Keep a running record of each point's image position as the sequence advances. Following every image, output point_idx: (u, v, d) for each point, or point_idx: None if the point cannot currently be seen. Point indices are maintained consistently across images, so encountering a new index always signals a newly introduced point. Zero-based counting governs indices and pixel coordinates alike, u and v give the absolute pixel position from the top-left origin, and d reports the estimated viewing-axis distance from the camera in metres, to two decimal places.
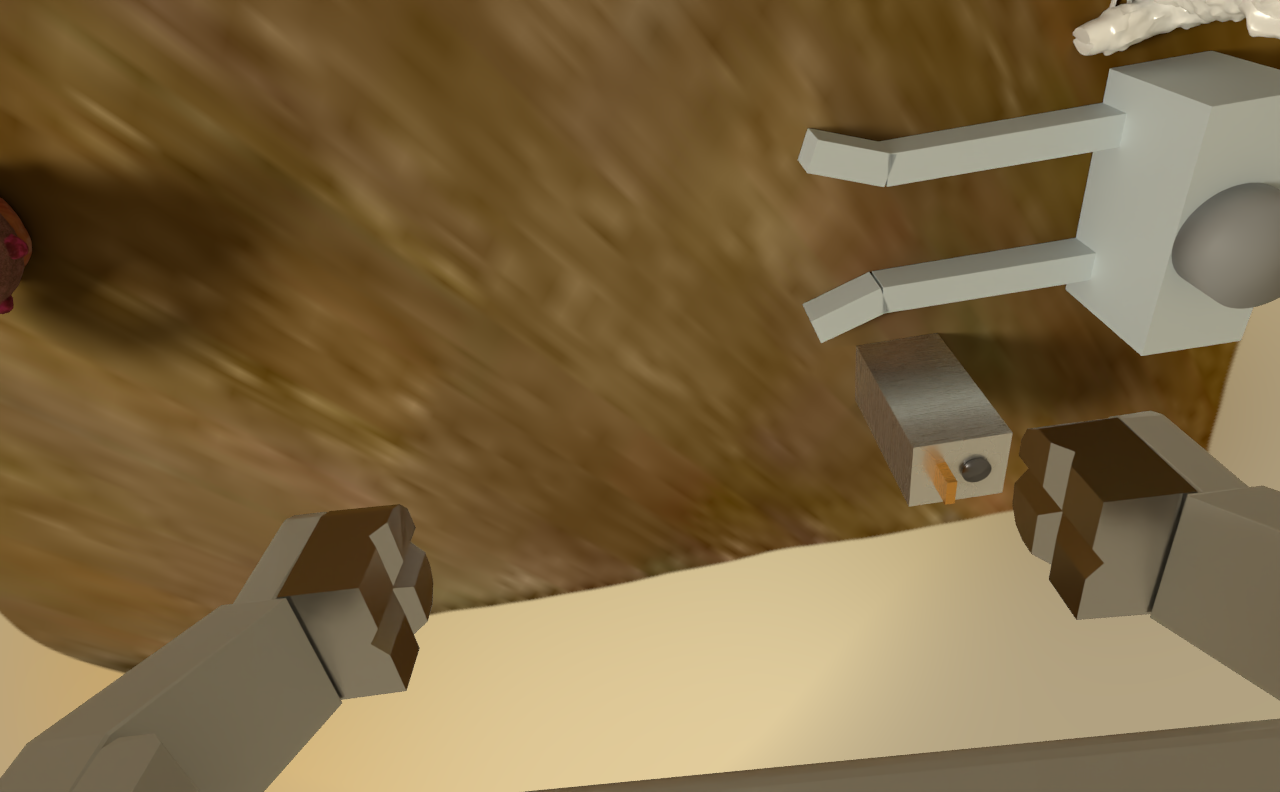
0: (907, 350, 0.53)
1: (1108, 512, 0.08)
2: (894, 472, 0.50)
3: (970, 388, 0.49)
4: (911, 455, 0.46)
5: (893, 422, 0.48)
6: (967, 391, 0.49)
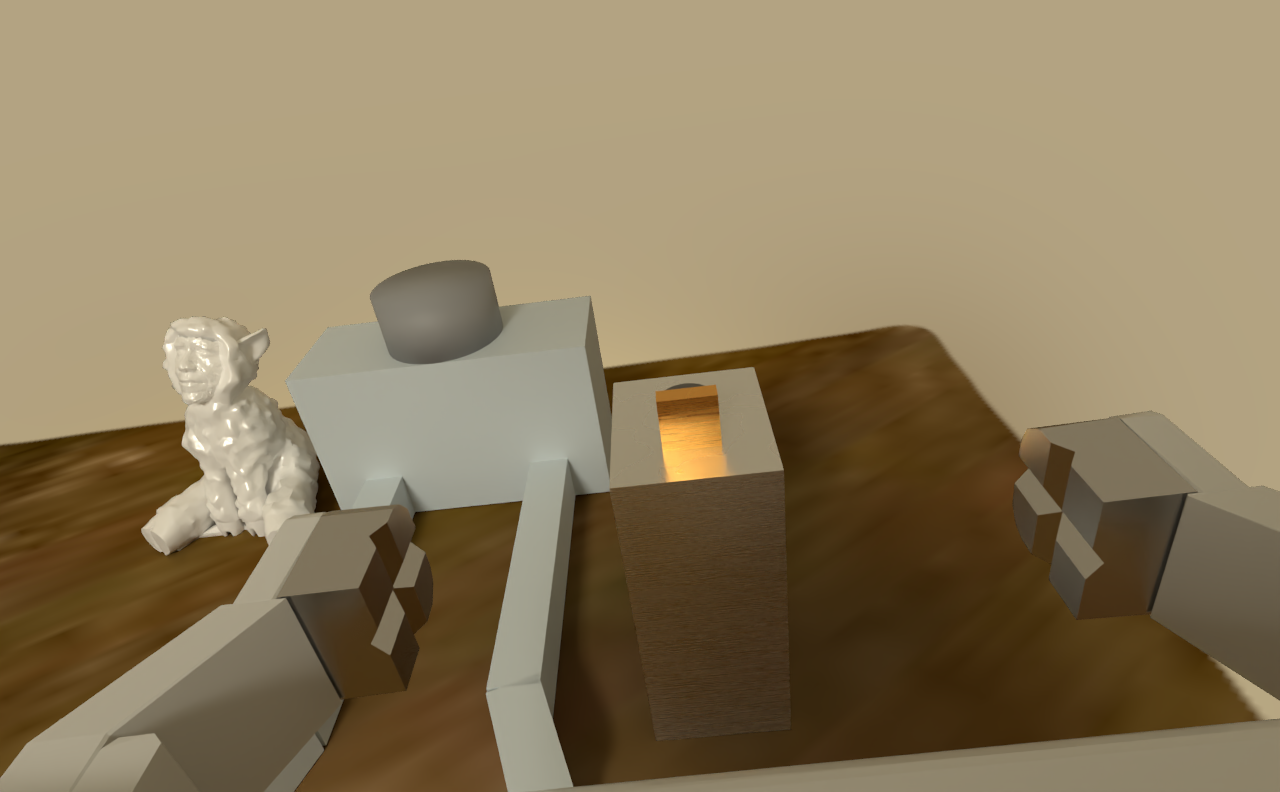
0: None
1: (1108, 512, 0.08)
2: (771, 546, 0.22)
3: None
4: (638, 491, 0.21)
5: (650, 574, 0.23)
6: None
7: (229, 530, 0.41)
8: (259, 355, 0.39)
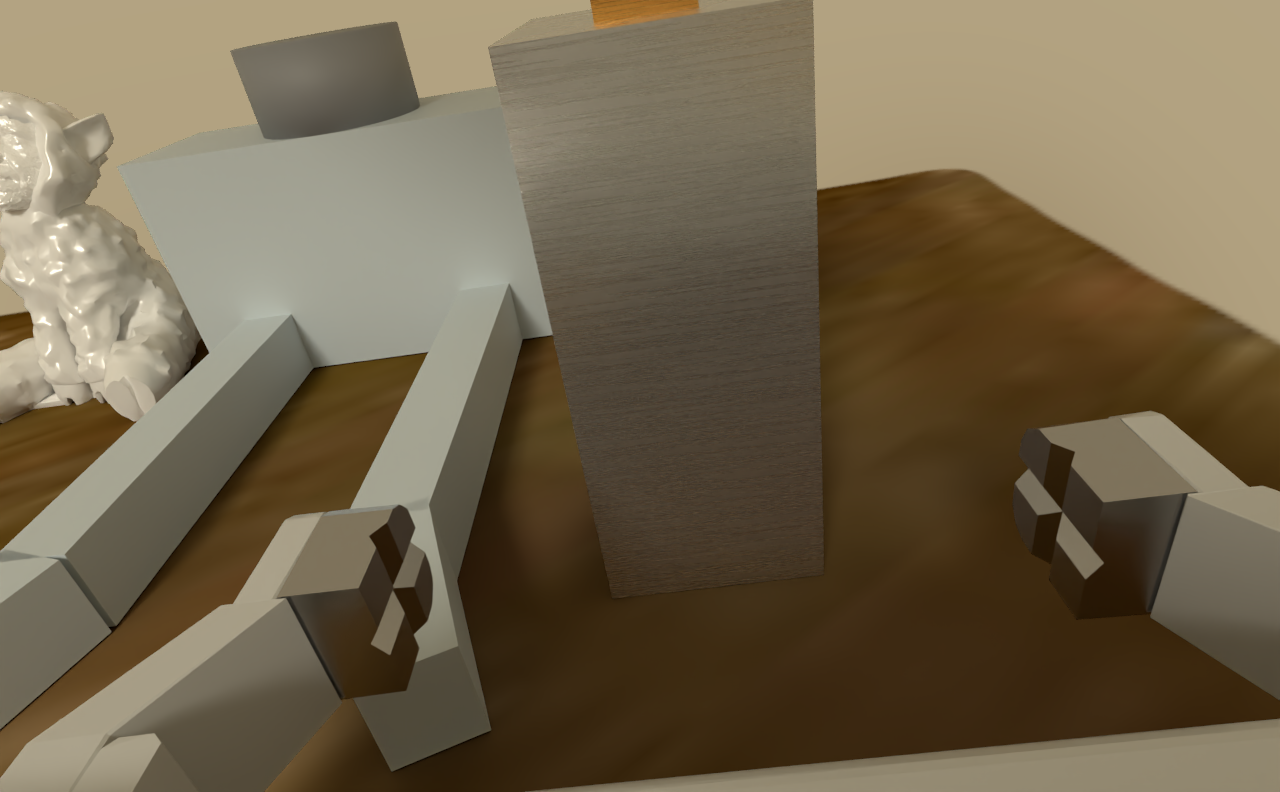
0: None
1: (1108, 512, 0.08)
2: (791, 188, 0.13)
3: None
4: (542, 54, 0.11)
5: (579, 256, 0.13)
6: None
7: (70, 396, 0.31)
8: (97, 153, 0.29)
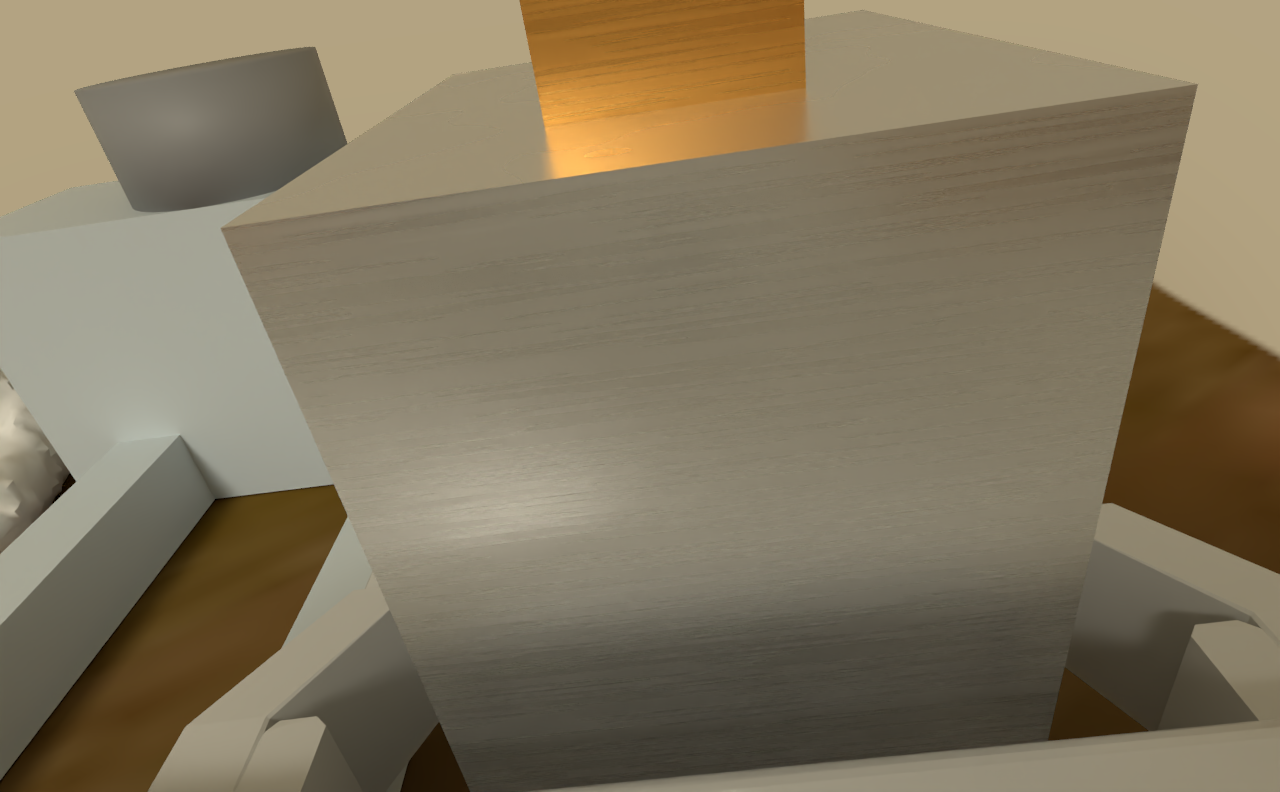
0: None
1: None
2: (1031, 536, 0.05)
3: None
4: (379, 247, 0.04)
5: (515, 660, 0.06)
6: None
7: None
8: None
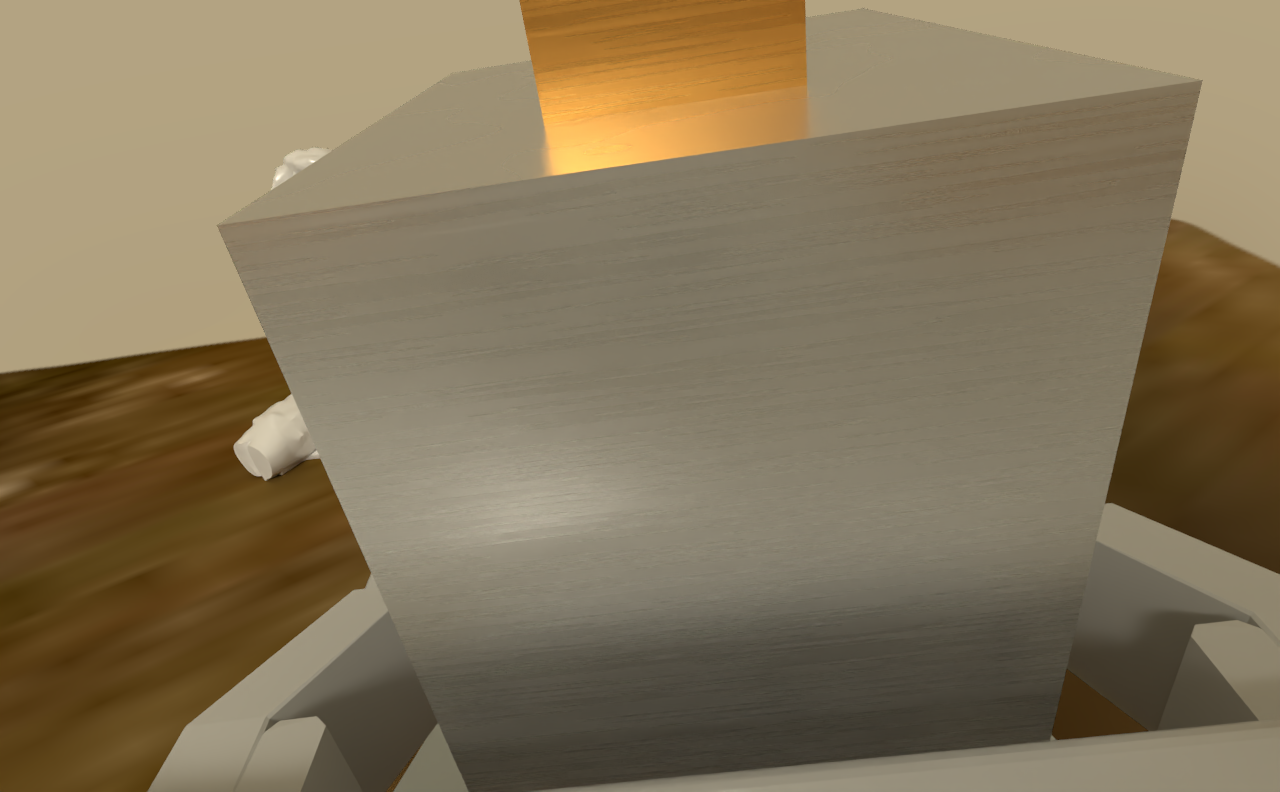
0: None
1: None
2: (1033, 536, 0.05)
3: None
4: (377, 244, 0.04)
5: (514, 660, 0.06)
6: None
7: None
8: None
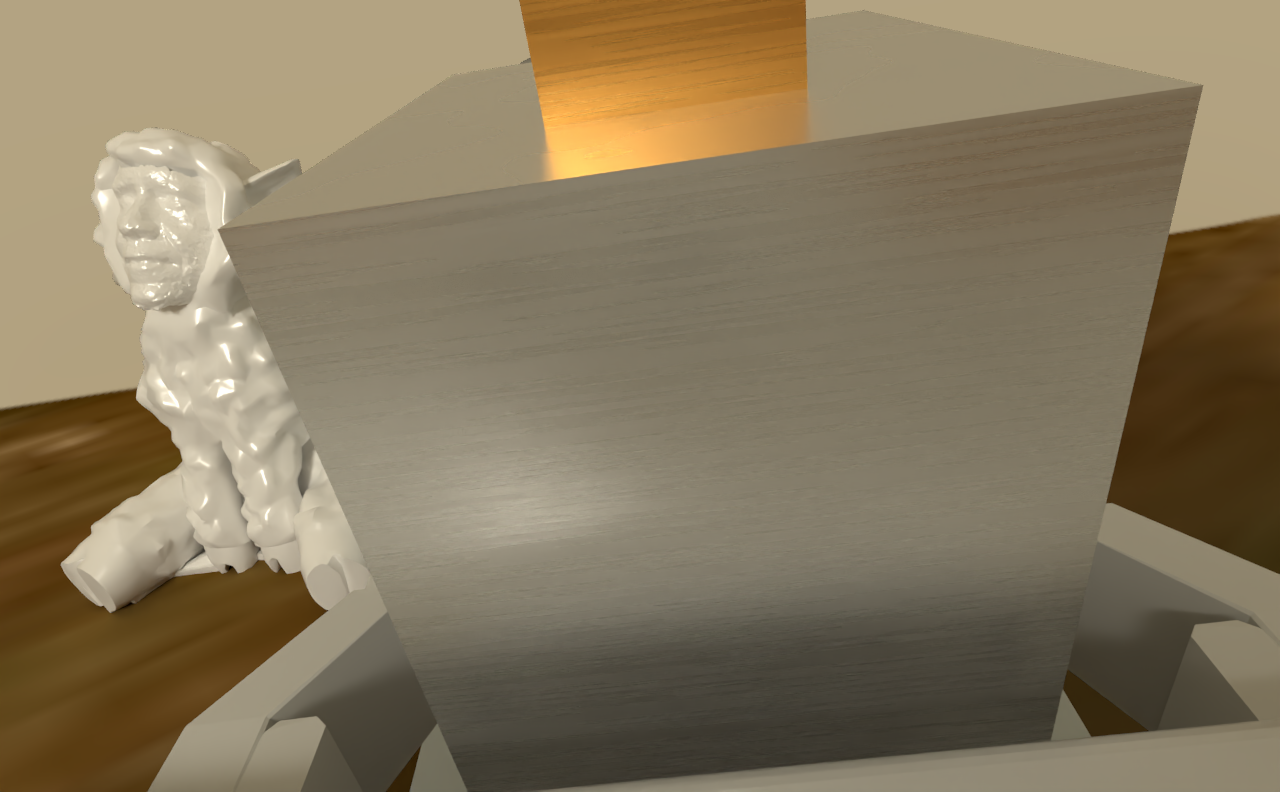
0: None
1: None
2: (1033, 539, 0.05)
3: None
4: (379, 247, 0.04)
5: (514, 663, 0.06)
6: None
7: (231, 562, 0.22)
8: None
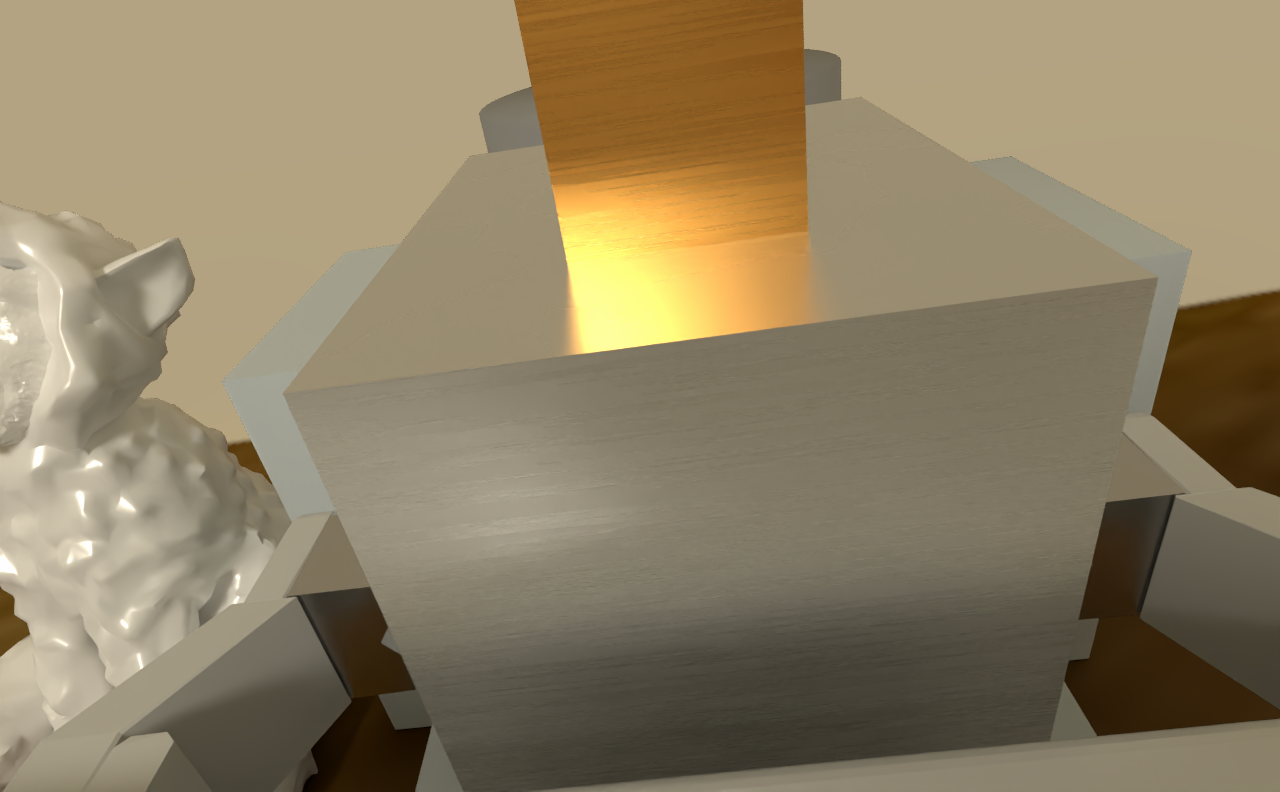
0: None
1: None
2: (1015, 640, 0.06)
3: None
4: (425, 406, 0.04)
5: (538, 744, 0.06)
6: None
7: None
8: (164, 315, 0.14)
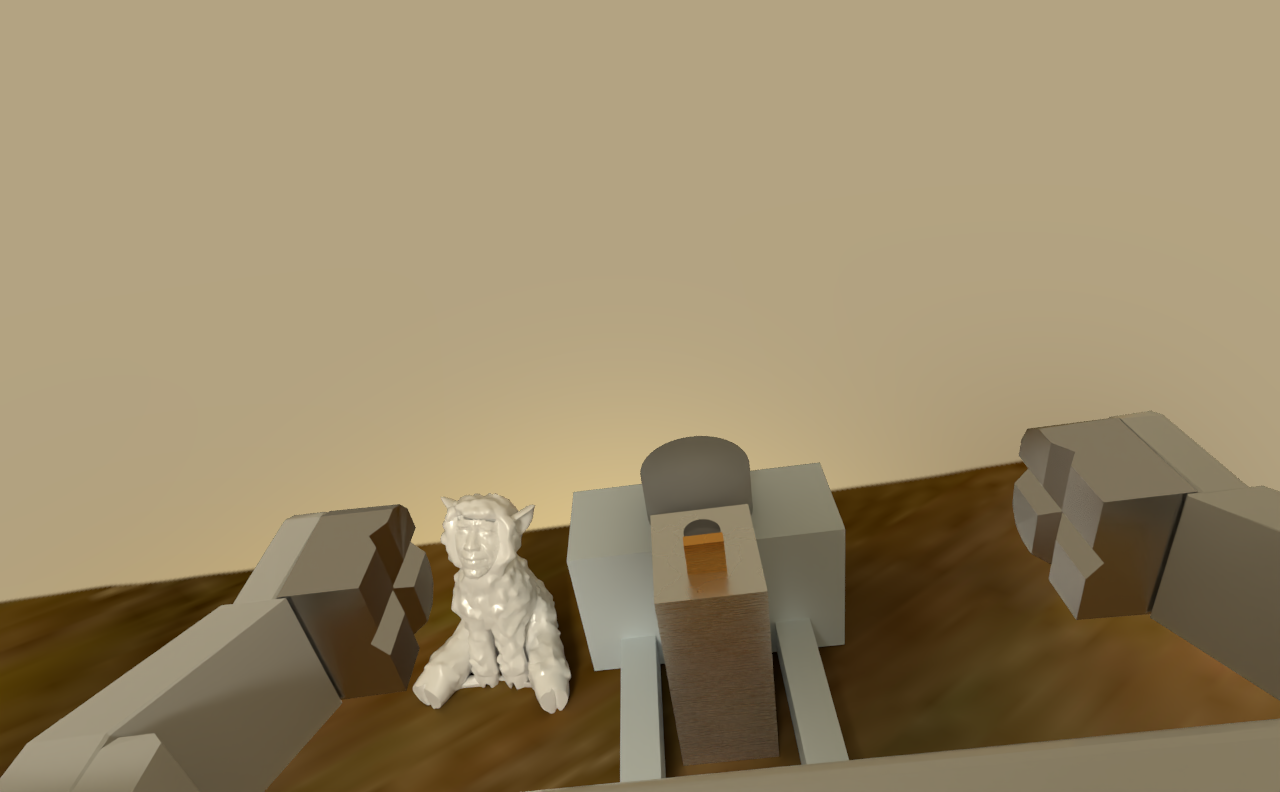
0: None
1: (1108, 512, 0.08)
2: (761, 637, 0.34)
3: None
4: (672, 605, 0.33)
5: (680, 655, 0.34)
6: None
7: (489, 683, 0.44)
8: (526, 528, 0.43)
